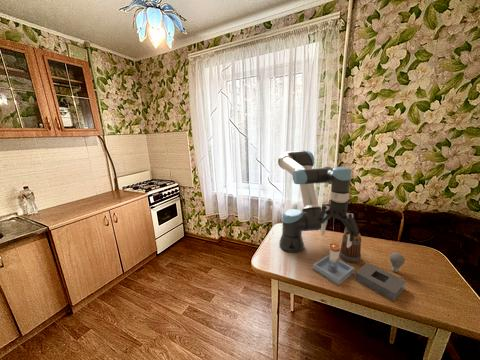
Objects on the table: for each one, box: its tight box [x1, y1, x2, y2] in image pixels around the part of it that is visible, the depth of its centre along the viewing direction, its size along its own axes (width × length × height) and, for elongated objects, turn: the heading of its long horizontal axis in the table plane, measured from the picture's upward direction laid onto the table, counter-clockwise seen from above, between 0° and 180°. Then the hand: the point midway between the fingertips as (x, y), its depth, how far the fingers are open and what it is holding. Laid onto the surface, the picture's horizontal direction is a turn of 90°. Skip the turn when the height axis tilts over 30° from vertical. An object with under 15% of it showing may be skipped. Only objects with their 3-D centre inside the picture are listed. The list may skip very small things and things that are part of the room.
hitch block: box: [354, 262, 407, 302], centre depth 92 cm, size 16×12×4 cm
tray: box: [312, 254, 355, 286], centre depth 101 cm, size 14×14×3 cm
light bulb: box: [389, 252, 406, 273], centre depth 99 cm, size 6×6×10 cm
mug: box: [339, 227, 362, 264], centre depth 113 cm, size 16×11×15 cm
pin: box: [328, 243, 341, 273], centre depth 100 cm, size 4×4×14 cm
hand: (335, 240), depth 98 cm, fingers open, 13 cm apart
